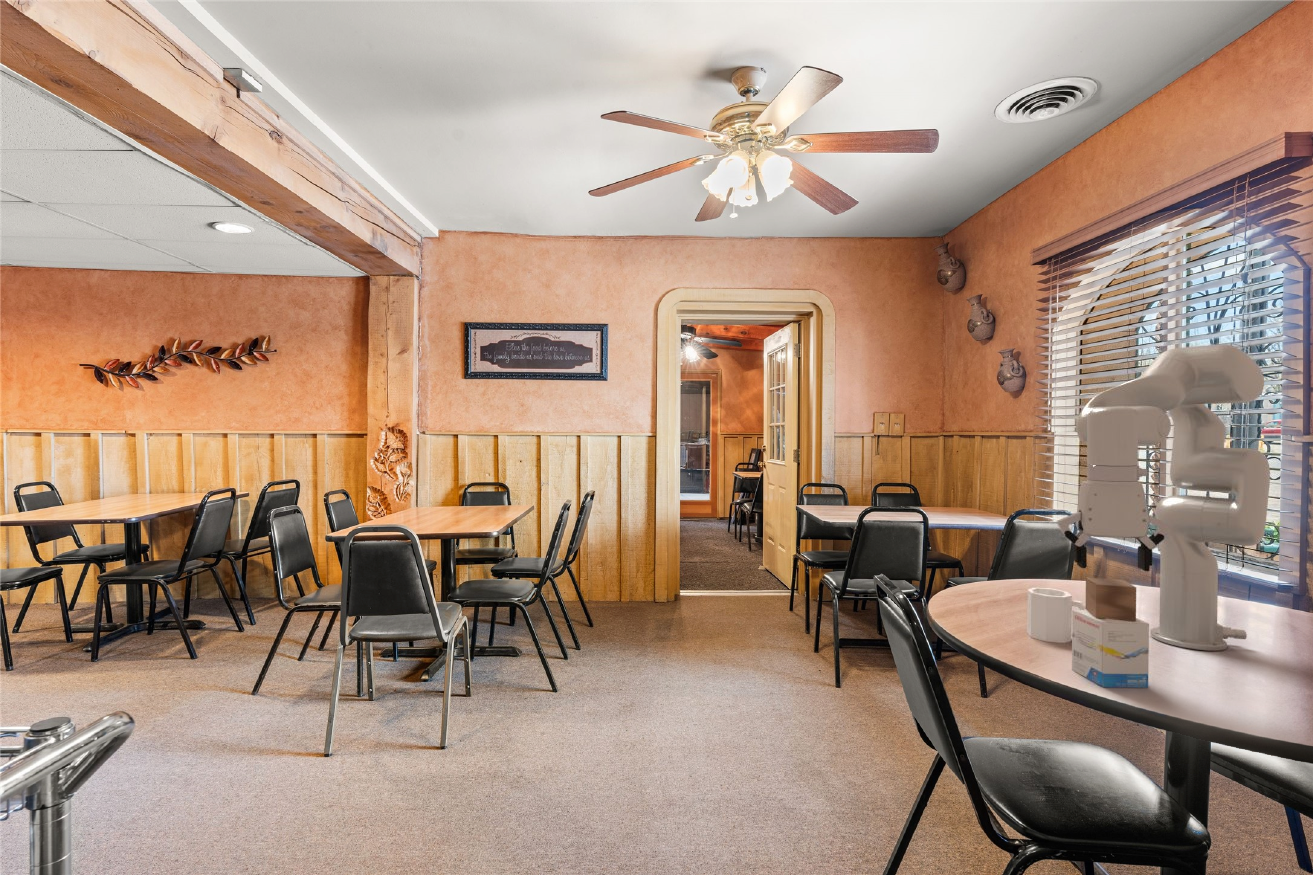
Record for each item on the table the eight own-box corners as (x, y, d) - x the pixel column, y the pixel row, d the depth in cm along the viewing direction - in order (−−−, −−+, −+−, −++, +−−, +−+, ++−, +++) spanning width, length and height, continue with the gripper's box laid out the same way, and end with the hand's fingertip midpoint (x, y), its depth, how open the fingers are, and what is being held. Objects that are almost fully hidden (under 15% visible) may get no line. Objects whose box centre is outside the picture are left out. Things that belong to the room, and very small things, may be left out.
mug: (1024, 637, 137) (1025, 593, 137) (1029, 628, 144) (1030, 585, 144) (1091, 649, 129) (1091, 602, 129) (1093, 639, 136) (1093, 594, 136)
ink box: (1150, 688, 110) (1151, 622, 110) (1101, 688, 110) (1102, 621, 110) (1115, 670, 118) (1116, 608, 118) (1070, 669, 118) (1071, 607, 118)
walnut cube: (1123, 612, 116) (1123, 579, 116) (1135, 621, 110) (1136, 587, 110) (1085, 608, 118) (1085, 577, 118) (1095, 617, 112) (1096, 584, 112)
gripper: (1159, 473, 115) (1159, 566, 115) (1051, 472, 120) (1052, 561, 121) (1179, 477, 108) (1179, 575, 108) (1063, 476, 113) (1063, 570, 113)
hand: (1112, 568), depth 114 cm, fingers open, 9 cm apart
